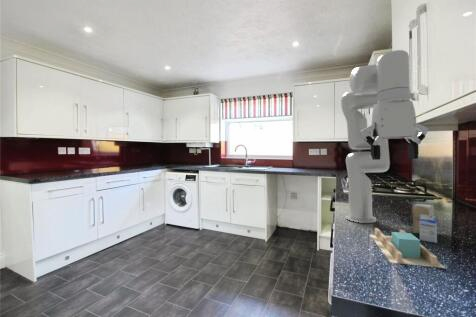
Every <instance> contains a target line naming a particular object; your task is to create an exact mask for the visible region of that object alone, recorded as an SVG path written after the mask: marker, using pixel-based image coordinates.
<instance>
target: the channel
mask: <svg viewBox="0 0 476 317" xmlns="http://www.w3.org/2000/svg"><path fill="white" fill-rule="evenodd" d="M398 232H401V233H407V232H406V231H405V230H404V229H400V228H399V229H398ZM369 236H370V237H371V239H372V240H373V241H374V243H375V244H376V245H377V247H378V248H379V249H380V251H382V253H383V255H384V256H385V257H386V259H387V260H388V262H390V263H394V264H402V265H413V266H421V267H422V266H423V267H432V268H440V269H442V268H443V269H446V267H445V266H444V265H443V264H442V263H440V262H439V261H438V257H437V256H436V255H435V254H434V253H432V252H431V251H430V250H429V249H427V248H426V247H425V246H424V245H423V244H421V243H420V258H411V257H402V253H401V252H400V251H399V250H398V249H397V248H396V247H395V246H394V245H393V244H392V235H386V234H384V233H383V232H382V231H381V230H380V229H379V228H378V227H374V234H370V233H369Z"/></svg>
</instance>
